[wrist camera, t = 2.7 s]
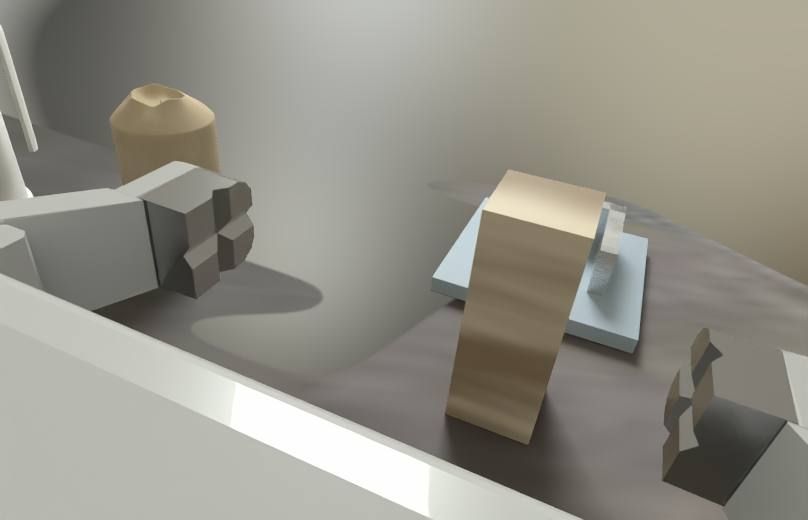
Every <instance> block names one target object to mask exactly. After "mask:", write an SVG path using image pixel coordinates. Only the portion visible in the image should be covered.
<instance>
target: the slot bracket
mask: <svg viewBox="0 0 808 520" xmlns="http://www.w3.org/2000/svg"><path fill="white" fill-rule="evenodd" d="M626 208H627V207H625V206H621V205H617V204H613V203H609V202H605V201H604V203H603V207H602V211H601V214H600V218H599V222H598V226H597V230H596V234H595V238H594V241H593V244H592V247H595V248H597V251H596V255H595V259H594V263H593V267H592V271H591V275H590V279H589V284H588V288H587V292H589V293H593V294H596V295H599V296H604V293H605V291H606V288H607V285H608V282H609V279H610V276H611V274H612V271H613V268H614V265H615V262H616V259H617V257H618V253H619V247H620V241H621V236H622V230H623V225H624V219H625V213H626Z"/></svg>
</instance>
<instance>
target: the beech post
mask: <svg viewBox="0 0 808 520" xmlns="http://www.w3.org/2000/svg"><path fill="white" fill-rule="evenodd" d="M605 195H606V193H604V192H600V191H596V190H592V189H588V188H584V187H579V186H575V185H571V184H567V183H563V182H559V181H555V180H550V179H546V178H542V177H538V176H533V175H530V174H525V173H521V172H517V171H513V170H508V171H507V173H506V174H505V176H504V177H503V179H502V180H501V182H500V183H499V185H498V186H497V188H496V189H495V191H494V193H493V194H492V196H491V197H490V199H489V200H488V202H487V203H486V205H485V206H484V208H483V209H482V214H481V220H480V225H479V231H478V236H477V242H476V247H475V253H474V258H473V264H472V269H471V275H470V280H469V286H468V291H467V297H466V302H465V308H464V313H463V318H462V324H461V329H460V335H459V340H458V346H457V351H456V357H455V362H454V368H453V373H452V379H451V384H450V390H449V395H448V401H447V406H446V412H445V414H447V415H449V416H452V417H455V418H457V419H460V420H463V421H465V422H468V423H470V424H473V425H476V426H478V427H481V428H484V429H486V430H489V431H492V432H494V433H497V434H500V435H502V436H505V437H508V438H510V439H513V440H516V441H518V442H521V443H524V444H526V445H529V442H530V438H531V435H532V432H533V429H534V426H535V423H536V420H537V416H538V413H539V410H540V407H541V404H542V401H543V398H544V395H545V391H546V388H547V385H548V382H549V379H550V376H551V373H552V369H553V366H554V363H555V360H556V357H557V354H558V351H559V348H560V344H561V341H562V338H563V335H564V332H565V329H566V326H567V322H568V319H569V316H570V313H571V310H572V307H573V304H574V301H575V297H576V294H577V291H578V288H579V285H580V282H581V279H582V275H583V272H584V269H585V266H586V263H587V260H588V257H589V254H590V250H591V247H592V244H593V241H594V238H595V234H596V230H597V226H598V222H599V218H600V214H601V211H602V207H603V203H604V199H605Z"/></svg>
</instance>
